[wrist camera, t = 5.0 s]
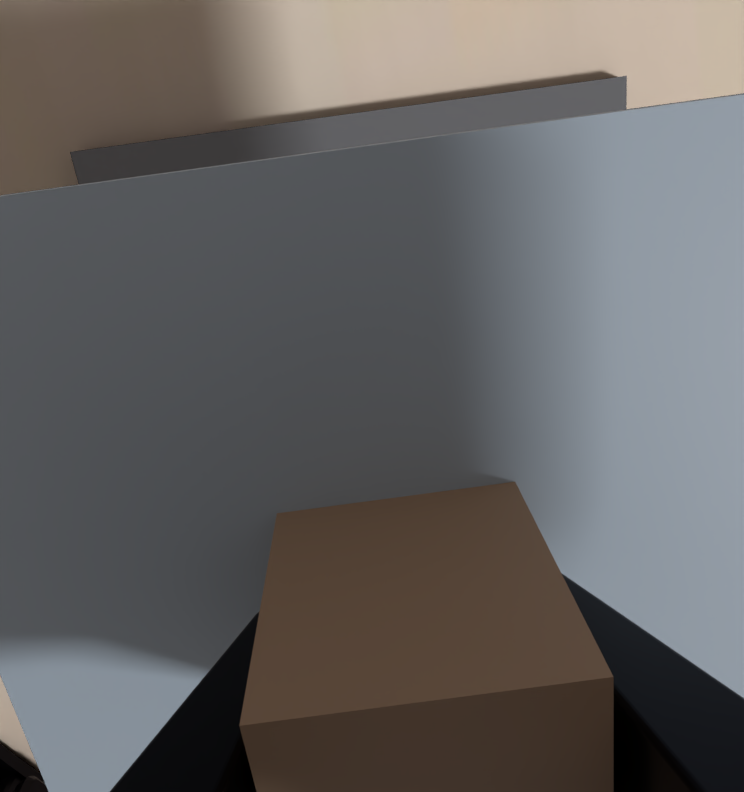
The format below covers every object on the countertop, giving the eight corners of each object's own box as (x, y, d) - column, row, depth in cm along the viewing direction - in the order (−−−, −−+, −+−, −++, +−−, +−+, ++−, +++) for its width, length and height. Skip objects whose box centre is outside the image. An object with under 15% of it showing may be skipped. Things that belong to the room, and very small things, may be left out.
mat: (617, 543, 21) (622, 550, 20) (196, 597, 21) (193, 606, 20) (620, 77, 16) (626, 75, 16) (76, 151, 16) (70, 151, 16)
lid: (757, 784, 13) (965, 1107, 8) (121, 866, 13) (12, 1225, 8) (831, 81, 8) (1329, 22, 4) (-129, 213, 8) (-599, 285, 4)
